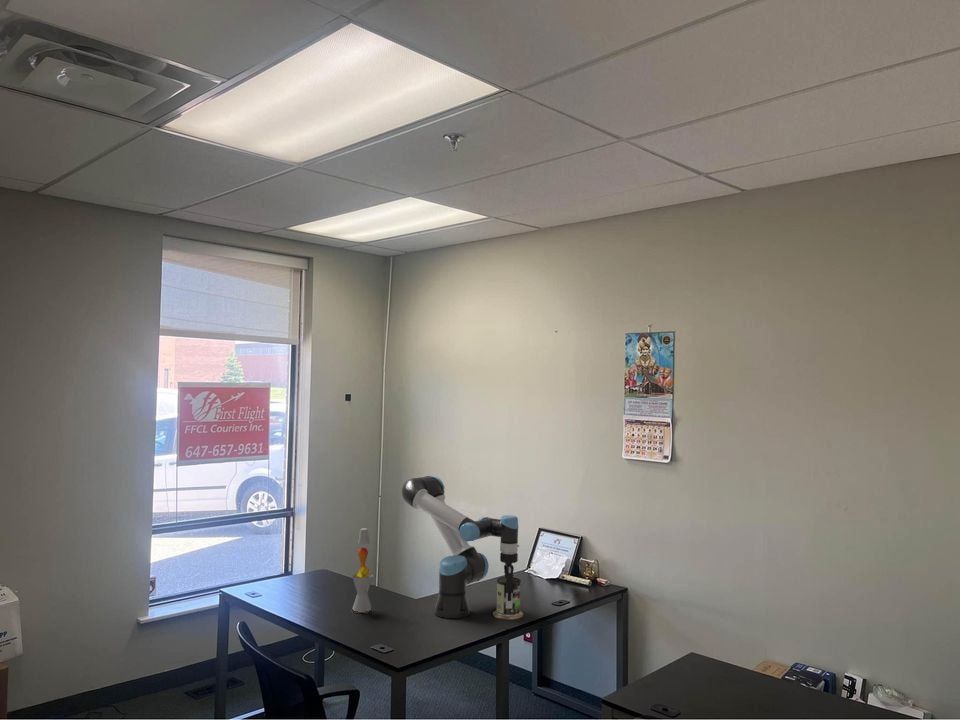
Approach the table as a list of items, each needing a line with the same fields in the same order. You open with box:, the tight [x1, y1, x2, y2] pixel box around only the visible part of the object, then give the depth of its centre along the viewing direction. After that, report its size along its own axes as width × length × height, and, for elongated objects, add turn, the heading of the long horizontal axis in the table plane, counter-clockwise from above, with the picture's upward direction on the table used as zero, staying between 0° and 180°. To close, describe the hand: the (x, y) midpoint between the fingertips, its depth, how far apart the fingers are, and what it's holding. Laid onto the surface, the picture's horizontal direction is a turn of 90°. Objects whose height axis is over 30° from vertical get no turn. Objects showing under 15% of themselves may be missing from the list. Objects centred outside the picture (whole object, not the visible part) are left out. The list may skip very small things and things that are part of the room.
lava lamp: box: [351, 527, 374, 612], centre depth 302 cm, size 9×9×35 cm
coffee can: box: [495, 576, 521, 617], centre depth 300 cm, size 10×10×14 cm
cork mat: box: [492, 610, 524, 621], centre depth 299 cm, size 13×13×1 cm
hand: (508, 603), depth 300 cm, fingers open, 11 cm apart
